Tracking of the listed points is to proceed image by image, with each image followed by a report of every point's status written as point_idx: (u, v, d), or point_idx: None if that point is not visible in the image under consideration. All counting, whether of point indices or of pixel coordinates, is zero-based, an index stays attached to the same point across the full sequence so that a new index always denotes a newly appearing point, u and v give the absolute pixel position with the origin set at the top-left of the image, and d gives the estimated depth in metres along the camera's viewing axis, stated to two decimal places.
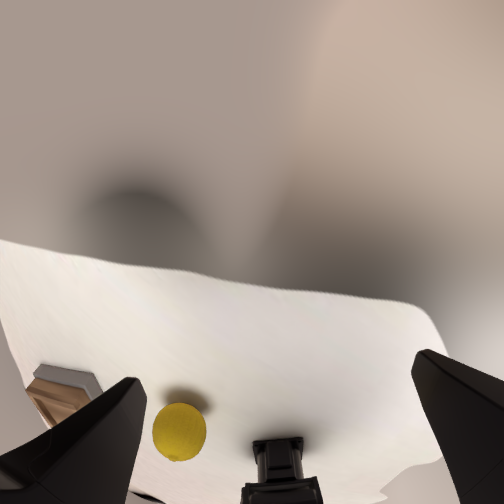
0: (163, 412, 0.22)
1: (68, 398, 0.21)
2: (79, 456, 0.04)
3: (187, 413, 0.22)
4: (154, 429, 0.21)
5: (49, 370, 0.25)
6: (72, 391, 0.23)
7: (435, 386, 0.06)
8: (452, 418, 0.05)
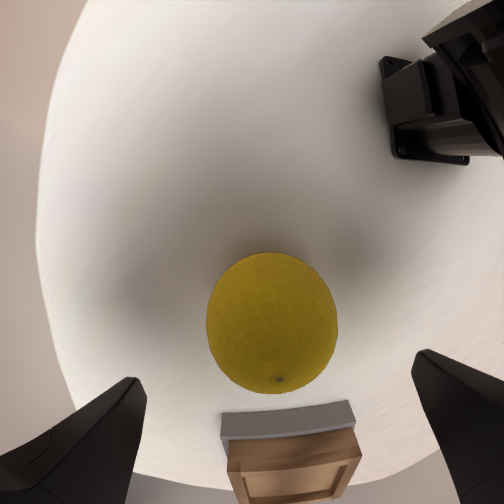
0: None
1: None
2: (79, 456, 0.04)
3: None
4: None
5: None
6: None
7: (435, 386, 0.06)
8: (452, 418, 0.05)
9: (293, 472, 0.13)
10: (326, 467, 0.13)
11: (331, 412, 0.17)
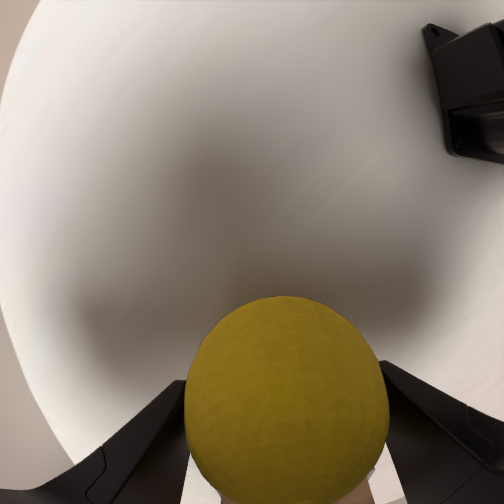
0: None
1: None
2: (140, 473, 0.04)
3: (197, 351, 0.07)
4: None
5: None
6: None
7: (388, 402, 0.06)
8: (406, 437, 0.05)
9: None
10: None
11: None
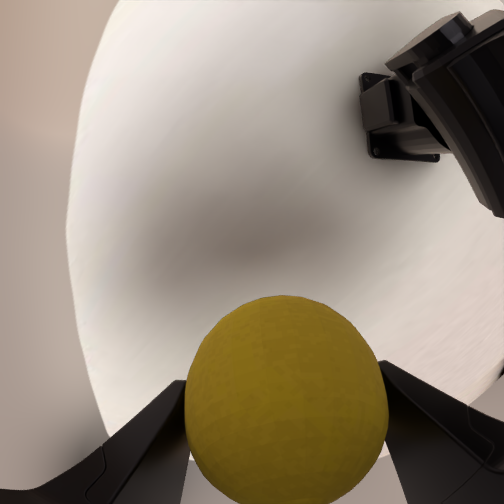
0: None
1: None
2: (140, 473, 0.04)
3: None
4: None
5: None
6: None
7: (388, 402, 0.06)
8: (406, 437, 0.05)
9: None
10: None
11: None
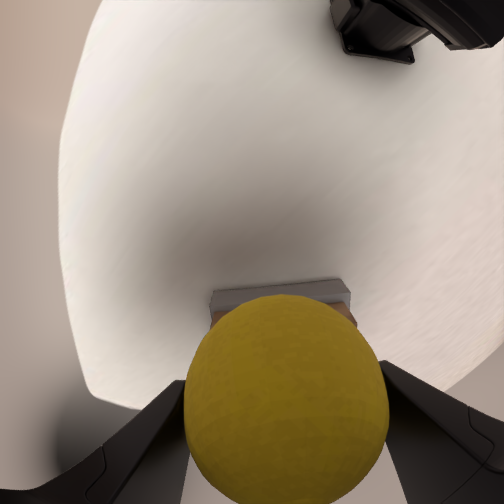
0: None
1: None
2: (140, 473, 0.04)
3: None
4: None
5: None
6: None
7: (388, 402, 0.06)
8: (406, 437, 0.05)
9: None
10: None
11: (324, 287, 0.20)
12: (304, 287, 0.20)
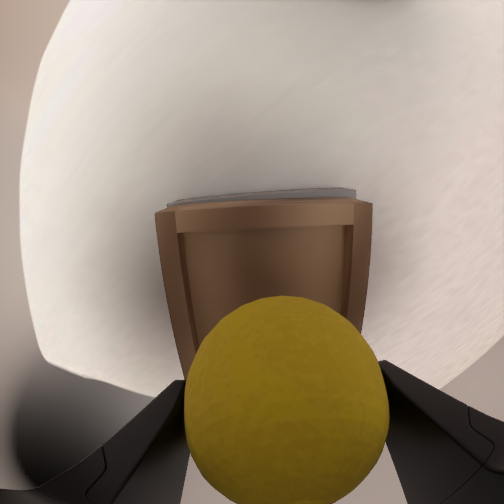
0: None
1: None
2: (140, 473, 0.04)
3: None
4: None
5: None
6: None
7: (388, 402, 0.06)
8: (406, 437, 0.05)
9: (262, 222, 0.11)
10: (318, 220, 0.11)
11: (320, 189, 0.15)
12: (294, 190, 0.15)
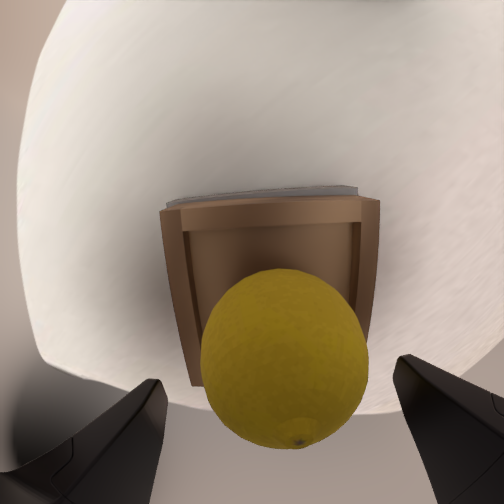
0: None
1: None
2: (104, 464, 0.04)
3: None
4: None
5: None
6: None
7: (415, 393, 0.06)
8: (432, 427, 0.05)
9: (269, 220, 0.11)
10: (325, 218, 0.11)
11: (321, 187, 0.15)
12: (295, 188, 0.15)
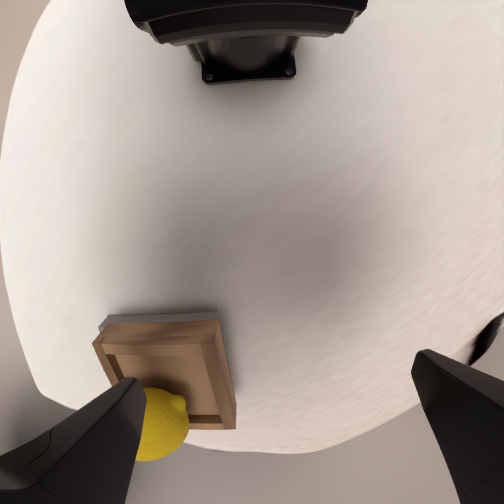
0: None
1: None
2: (79, 456, 0.04)
3: None
4: None
5: None
6: None
7: (435, 386, 0.06)
8: (452, 418, 0.05)
9: (146, 353, 0.16)
10: (178, 353, 0.16)
11: (194, 317, 0.20)
12: (177, 316, 0.21)
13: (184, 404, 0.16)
